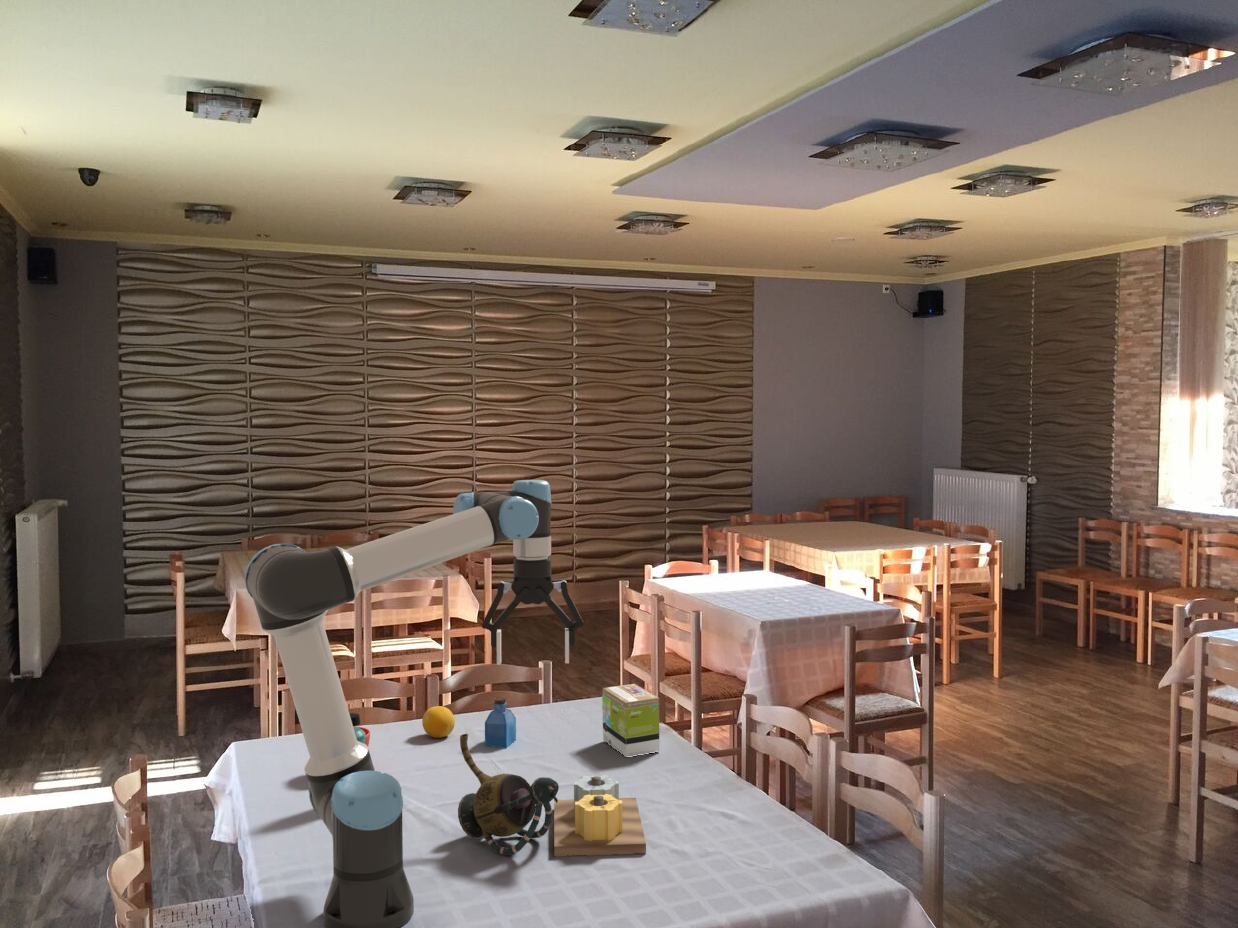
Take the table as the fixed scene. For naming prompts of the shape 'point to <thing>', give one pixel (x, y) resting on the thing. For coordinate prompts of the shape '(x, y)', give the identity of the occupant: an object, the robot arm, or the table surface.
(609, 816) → the ochre gear
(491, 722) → the perfume bottle
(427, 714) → the fruit
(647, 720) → the tea box
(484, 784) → the teapot
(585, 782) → the pale grey gear
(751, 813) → the table surface
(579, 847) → the gear board
